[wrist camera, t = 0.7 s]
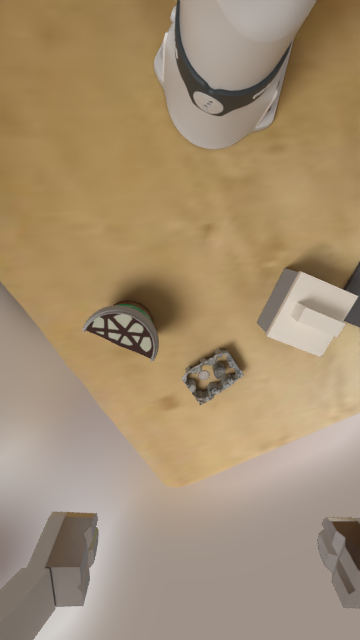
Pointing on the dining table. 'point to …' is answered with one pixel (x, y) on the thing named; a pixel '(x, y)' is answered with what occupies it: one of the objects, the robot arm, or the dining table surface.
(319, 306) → the lid
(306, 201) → the dining table surface
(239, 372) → the egg carton
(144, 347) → the food container
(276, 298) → the crate
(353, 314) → the mat
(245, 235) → the dining table surface
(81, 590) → the robot arm
